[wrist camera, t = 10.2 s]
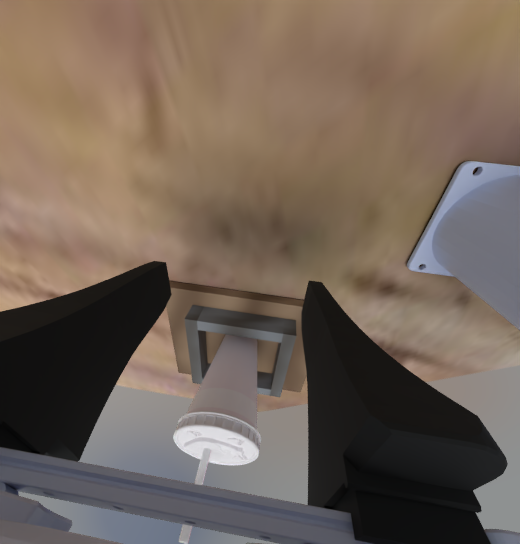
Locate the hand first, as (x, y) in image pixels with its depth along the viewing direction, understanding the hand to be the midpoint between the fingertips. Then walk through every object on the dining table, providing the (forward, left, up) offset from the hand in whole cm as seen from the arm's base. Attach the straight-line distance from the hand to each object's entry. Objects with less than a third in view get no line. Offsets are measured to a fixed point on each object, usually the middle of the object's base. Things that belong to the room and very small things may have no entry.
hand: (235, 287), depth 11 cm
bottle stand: (0, +14, -8) cm, 16 cm away
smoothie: (+1, +13, -7) cm, 15 cm away
